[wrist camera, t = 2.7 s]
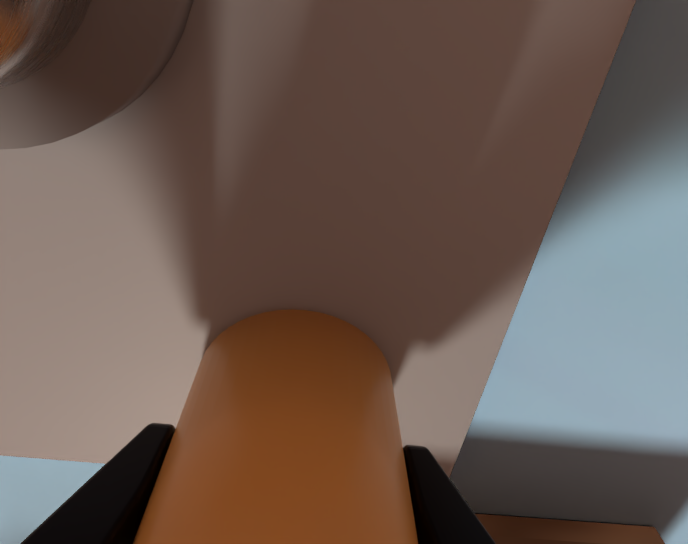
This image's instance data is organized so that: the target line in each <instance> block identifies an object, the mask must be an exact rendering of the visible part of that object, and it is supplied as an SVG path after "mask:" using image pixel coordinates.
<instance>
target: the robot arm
mask: <svg viewBox="0 0 688 544" xmlns="http://www.w3.org/2000/svg"><path fill="white" fill-rule="evenodd" d="M174 432H175V427H174V426H173V425H171V424H163V423H151V424H149V425H147V426H146V427H145V428H144V429H143V430H142V431H141V432H139V433H138V434H137V435H136V436H135V437H134V438H133V439H132V440H131V441H130V442H129V443H128V444H127V445H126V446H124V447H123V448H122V449H121V450H120V451H119V452H118V453H117V454H116V455H115V456H114V457H113V458H112V459H111V460H109V461H108V462H107V463H106V464H105V465H104V466H103V467H102V468H101V469H100V470H99V471H98V472H97V473H96V474H95V475H93V476H92V477H91V478H90V479H89V480H88V481H87V482H86V483H85V484H84V485H83V486H82V487H81V488H80V489H78V490H77V491H76V492H75V493H74V494H73V495H72V496H71V497H70V498H69V499H68V500H67V501H66V502H65V503H63V504H62V505H61V506H60V507H59V508H58V509H57V510H56V511H55V512H54V513H53V514H52V515H51V516H50V517H48V518H47V519H46V520H45V521H44V522H43V523H42V524H41V525H40V526H39V527H38V528H37V529H36V530H35V531H33V532H32V533H31V534H30V535H29V536H28V537H27V538H26V539H25V540H24V541H23V542H22V543H21V544H133V541H134V539H135V536H136V533H137V531H138V528H139V525H140V522H141V520H142V517H143V514H144V512H145V509H146V506H147V504H148V501H149V498H150V496H151V493H152V490H153V488H154V485H155V482H156V480H157V477H158V474H159V472H160V469H161V466H162V464H163V461H164V458H165V456H166V453H167V450H168V448H169V445H170V442H171V440H172V437H173V434H174ZM403 452H404V458H405V464H406V470H407V477H408V483H409V489H410V495H411V501H412V507H413V514H414V520H415V526H416V532H417V538H418V544H496V543H495V541H494V540H493V539H492V537H491V536H490V534H489V533H488V532H487V530H486V529H485V527H484V526H483V525H482V523H481V522H480V520H479V519H478V518H477V516H476V515H475V513H474V512H473V511H472V509H471V508H470V506H469V505H468V504H467V502H466V501H465V499H464V498H463V497H462V495H461V494H460V492H459V491H458V490H457V488H456V487H455V486H454V484H453V483H452V481H451V480H450V479H449V477H448V476H447V474H446V473H445V472H444V470H443V469H442V467H441V466H440V465H439V463H438V462H437V460H436V459H435V458H434V456H433V455H432V453H431V452H430V451H429V449H428V448H426V447H424V446H416V445H405V446H404V447H403Z"/></svg>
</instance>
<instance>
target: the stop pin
mask: <svg viewBox="0 0 688 544" xmlns="http://www.w3.org/2000/svg"><path fill="white" fill-rule="evenodd" d="M133 544H418V538H417V532H416V526H415V520H414V514H413V507H412V501H411V495H410V489H409V483H408V477H407V470H406V464H405V458H404V452H403V446H402V440H401V433H400V427H399V421H398V415H397V409H396V403H395V396H394V390H393V384H392V378H391V372H390V369H389V366H388V363H387V360H386V359H385V357H384V355H383V353H382V351H381V350H380V349H379V348H378V346H377V345H376V344H375V343H374V342H373V341H372V340H371V339H370V338H369V337H368V336H367V335H366V334H365V333H363V332H362V331H361V330H359V329H358V328H357V327H355V326H353V325H351V324H350V323H348V322H346V321H344V320H341V319H339V318H336V317H334V316H331V315H327V314H324V313H320V312H314V311H308V310H295V309H289V310H275V311H269V312H264V313H260V314H257V315H253V316H250V317H248V318H246V319H243V320H241V321H239V322H237V323H235V324H234V325H232V326H230V327H228V328H227V329H226V330H225V331H223V332H222V333H221V334H219V335H218V336H217V338H216V339H215V340H214V341H213V342H212V343H211V344H210V346H209V347H208V348H207V350H206V351H205V353H204V355H203V358H202V360H201V362H200V365H199V367H198V370H197V373H196V375H195V378H194V381H193V383H192V386H191V389H190V391H189V394H188V397H187V399H186V402H185V405H184V407H183V410H182V413H181V415H180V418H179V421H178V423H177V426H176V429H175V432H174V434H173V437H172V440H171V442H170V445H169V448H168V450H167V453H166V456H165V458H164V461H163V464H162V466H161V469H160V472H159V474H158V477H157V480H156V482H155V485H154V488H153V490H152V493H151V496H150V498H149V501H148V504H147V506H146V509H145V512H144V514H143V517H142V520H141V522H140V525H139V528H138V531H137V533H136V536H135V539H134V541H133Z"/></svg>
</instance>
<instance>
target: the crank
mask: <svg viewBox="0 0 688 544" xmlns="http://www.w3.org/2000/svg"><path fill="white" fill-rule="evenodd" d="M90 1H91V0H0V88H3V87H6V86H9V85H12V84H14V83H17V82H19V81H22V80H25V79H26V78H28V77H30V76H32V75H33V74H35V73H37V72H38V71H40V70H42V69H43V68H44V67H45V66H47V65H48V64H49V63H50V62H51V61H52V60H54V59H55V58H56V57H57V56H58V55H59V54H60V53H61V52H62V51H63V49H64V48H65V47H66V46H67V44H68V43H69V42H70V41H71V40H72V38H73V37H74V35H75V33H76V31H77V30H78V28H79V26H80V25H81V23H82V21H83V19H84V17H85V15H86V12H87V9H88V7H89V4H90Z"/></svg>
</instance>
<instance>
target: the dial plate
mask: <svg viewBox="0 0 688 544" xmlns="http://www.w3.org/2000/svg"><path fill="white" fill-rule="evenodd" d="M635 2H636V0H91V1H90V4H89V7H88V9H87V12H86V15H85V17H84V19H83V21H82V23H81V25H80V26H79V28H78V30H77V31H76V33H75V35H74V37H73V38H72V40H71V41H70V42H69V43H68V44H67V46H66V47H65V48H64V49H63V51H62V52H61V53H60V54H59V55H58V56H57V57H56V58H55V59H54V60H52V61H51V62H50V63H49V64H48V65H47V66H45V67H44V68H43V69H42V70H40V71H38V72H37V73H35V74H33V75H32V76H30V77H28V78H26V79H25V80H22V81H19V82H17V83H14V84H12V85H9V86H6V87H3V88H0V455H3V456H16V457H29V458H42V459H54V460H67V461H80V462H92V463H105V464H106V463H107V462H108V461H109V460H111V459H112V458H113V457H114V456H115V455H116V454H117V453H118V452H119V451H120V450H121V449H122V448H123V447H124V446H126V445H127V444H128V443H129V442H130V441H131V440H132V439H133V438H134V437H135V436H136V435H137V434H138V433H139V432H141V431H142V430H143V429H144V428H145V427H146V426H147V425H149V424H151V423H163V424H171V425H173V426H174V427H175V429H176V426H177V423H178V421H179V418H180V415H181V413H182V410H183V407H184V405H185V402H186V399H187V397H188V394H189V391H190V389H191V386H192V383H193V381H194V378H195V375H196V373H197V370H198V367H199V365H200V362H201V360H202V358H203V355H204V353H205V351H206V350H207V348H208V347H209V346H210V344H211V343H212V342H213V341H214V340H215V339H216V338H217V336H218V335H219V334H221V333H222V332H223V331H225V330H226V329H227V328H228V327H230V326H232V325H234V324H235V323H237V322H239V321H241V320H243V319H246V318H248V317H250V316H253V315H257V314H260V313H264V312H269V311H275V310H289V309H295V310H308V311H314V312H320V313H324V314H327V315H331V316H334V317H336V318H339V319H341V320H344V321H346V322H348V323H350V324H351V325H353V326H355V327H357V328H358V329H359V330H361V331H362V332H363V333H365V334H366V335H367V336H368V337H369V338H370V339H371V340H372V341H373V342H374V343H375V344H376V345H377V346H378V348H379V349H380V350H381V351H382V353H383V355H384V357H385V359H386V360H387V363H388V366H389V369H390V372H391V378H392V384H393V390H394V396H395V403H396V409H397V415H398V421H399V427H400V433H401V440H402V446H403V447H404V446H405V445H416V446H424V447H426V448H428V449H429V451H430V452H431V453H432V455H433V456H434V458H435V459H436V460H437V462H438V463H439V465H440V466H441V467H442V469H443V470H444V472H445V473H446V474H447V476H448V477H450V475H451V472H452V470H453V467H454V465H455V462H456V460H457V457H458V454H459V452H460V449H461V447H462V444H463V442H464V439H465V437H466V434H467V431H468V429H469V426H470V424H471V421H472V419H473V416H474V414H475V411H476V408H477V406H478V403H479V401H480V398H481V396H482V393H483V391H484V388H485V385H486V383H487V380H488V378H489V375H490V373H491V370H492V368H493V365H494V362H495V360H496V357H497V355H498V352H499V350H500V347H501V345H502V342H503V339H504V337H505V334H506V332H507V329H508V327H509V324H510V322H511V319H512V316H513V314H514V311H515V309H516V306H517V304H518V301H519V299H520V296H521V293H522V291H523V288H524V286H525V283H526V281H527V278H528V276H529V273H530V270H531V268H532V265H533V263H534V260H535V258H536V255H537V253H538V250H539V247H540V245H541V242H542V240H543V237H544V235H545V232H546V230H547V227H548V224H549V222H550V219H551V217H552V214H553V212H554V209H555V207H556V204H557V201H558V199H559V196H560V194H561V191H562V189H563V186H564V184H565V181H566V178H567V176H568V173H569V171H570V168H571V166H572V163H573V161H574V158H575V155H576V153H577V150H578V148H579V145H580V143H581V140H582V138H583V135H584V132H585V130H586V127H587V125H588V122H589V120H590V117H591V115H592V112H593V109H594V107H595V104H596V102H597V99H598V97H599V94H600V92H601V89H602V86H603V84H604V81H605V79H606V76H607V74H608V71H609V69H610V66H611V63H612V61H613V58H614V56H615V53H616V51H617V48H618V46H619V43H620V40H621V38H622V35H623V33H624V30H625V28H626V25H627V23H628V20H629V17H630V15H631V12H632V10H633V7H634V5H635Z"/></svg>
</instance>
